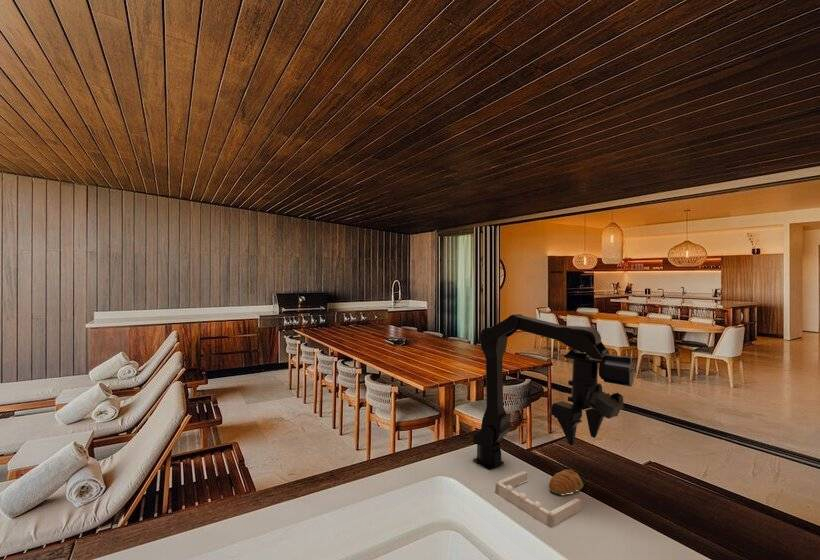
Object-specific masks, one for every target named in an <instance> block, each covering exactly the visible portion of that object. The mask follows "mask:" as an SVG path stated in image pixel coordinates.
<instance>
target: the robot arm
mask: <svg viewBox="0 0 820 560" xmlns="http://www.w3.org/2000/svg"><path fill="white" fill-rule="evenodd" d="M518 331H522V332H524V333H525V332H526V333H530V334H533V335H537V336H539V337H544V338H548V339H552V340H556V341H558V342H561V343H562V344H563V345H565V346H567V347H568V348H570V350H569V351H568V352H566V354H564V355H563V357H564V358H565V359H569V360H572V374H571V375H572V377H571V379H570V380H568V381H567V383H568V384H567V385H568V386H571V395H570V396H567V402H566V401H563V400H561V401H558V402H554V403H552V404H550V413H549V414H550V415H551V416H553V417H554V418H555V419H557V421H558V423H559V425H560V427H561V429H562V432H563V434H564V437H565V438H566V440H567V443H568V445H570V446H574V444H575V440H576V434H577V428H578V425H579V424H581V423H582V422H583V420H582V417H583V412H584V411H585V415H586V420H587V425H588V426H587V427H588V430H589V434H590V437H592V438H594V439H595V438H597V436H598V433H599V430H600V428H601V425H602V422H603V420H604V418H605V419H608V420H609V419H612V418H613V417H618V415H619V413H620V411H621V410H623V409H625V405H624V404H625V402H624V396H623V395H622V394H621V393H619V392H615V393H612V394H610V393H606V392H604V391H603V386H602V384H601V383H599V382H598V379H599V378H600V379H601V380H603V382H604V383H609V384H612V385H613V384H614V385H619V386H624V387H630V388H631V387H633V385H634V384H633V383H634V376H635V369H634V363H633V357H632V356H628V355H624V356H622V355H621V356H620V355H615V354H611V353H610V351H609V350H608V348H607V347H606V346H605V345H604V343H603V342H602V336H601V334H600V332H599V331H598V330H597V329H596V328H594V327H590V326H581V325H562V324H557V323H554V322H550V321H546V320H543V319H538V318H534V317H530V316H525V315H523V314H522V313H521V314H520V313H518V314H517V313H516V314H511V315H509V316H508V317H507V318H505V319H503V320H502V321H500V322H498V323H496V324H494V325H493V326H491V327H485V328H483V329H482V330H481V331H480V333H479V342H480V349H481V351H482V353H483V355H484V358H485V384H486V385H485V386H486V387H485V388H486V389H485V390H486V391H485V392H486V398H485V399H486V408H485V411H484V414H483V416H482V418H481V419H482V420H481V425H480V430H479V431H478V432H477V433H475V434H474V435H472V438H473V443H474V444H475V445H477V446H476V457H474V458H473V459H472V461H473V462H474V463H476V464H477V465H480V466H481V467H483V468H484V469H486V470H489V471H490V470H493V469H495V468H497V467H500V466H503V465H504V463H505V462H504V461H502V450H501V443H500V441H502V440H503V439H504V437H505V436H506V435H507V434H508V433H509V432H510V429H511V428H512V424H511V417H512V414H511V413H510V412H507V411H506V410H505V408H504V381H503V379H504V378H503V377H504V376H503V375H504V373H503V371H504V369H503V367H504V366H503V357H504V354H505V353H506V349H507V345H508V338H510V337H511V336H512V335H514V334H515V333H516V332H518ZM598 377H599V378H598ZM502 464H503V465H502Z"/></svg>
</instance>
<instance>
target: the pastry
mask: <svg viewBox="0 0 820 560" xmlns="http://www.w3.org/2000/svg"><path fill="white" fill-rule="evenodd" d="M583 487H584V483H583V482H582V479H581V477H580V475H579V474H578V473H577V472H575V471H574V470H572V469H566V468H565V469H564V470H561V471H560V472H559V471H558V472H556V473H555V474H554V475H552V477H551V478H550V480H549V483H548V488H550V489H549V491H550V490H551V491H552V493H553V492H554V493H553V494H556V493H558V494H566V493H571V492H575V491H576V490H579V491H581V490H582V489H583ZM551 491H550V492H551ZM558 494H557V495H558Z"/></svg>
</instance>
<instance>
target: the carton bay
mask: <svg viewBox="0 0 820 560" xmlns="http://www.w3.org/2000/svg"><path fill="white" fill-rule="evenodd" d="M526 480H527V481H528V472H527V471H525V470H522V471H520V472H518V473H516V474H512V475H510V476H509V477H506V478H503V479H501V480H498V481H496V482H495V491H494V492H495V493H496V494H497V495H499V496H501V498H503V499H505V500H506V501H508V502H509V503H511V504H513V505H515V506H516V507H518V508H520V509H521V510H522V511H524V512H526V513H527V514H529V515H531V516H533V517H534V518H536V519H537V520H539V521H541V522H542V523H543V524H545V525H546V526H549V527H550V528H553V527H555V526H557V525H558V524H560V523H562V522H564V521H565V520H567V519H569V518H570V517H572V516H574V515H576V514H577V513H579V512H580V511H581V499H579V498H577V497H576V498H574V499H572V500H570V501H568V502H567V503H564V504H563V505H560V506H559V507H557V508H555V509H553V510H551V511H550V510H548V509H546V508H545V507H542V506H543V505H542V504H541V502H540V501H537V500H536V501H532V500H531V499H529V498H528V497H527V494H526V493H524V492H521V493H519V492H517V491H515V490H514V488H516V487H515V486H517V485H519V484H520V483H522V482H524V481H526ZM519 486H520V485H519ZM517 487H518V486H517ZM578 511H579V512H578ZM575 513H576V514H575ZM573 514H574V515H573ZM571 515H572V516H571ZM569 516H570V517H569ZM568 517H569V518H568ZM566 518H567V519H566ZM564 519H565V520H564ZM561 521H562V522H561Z"/></svg>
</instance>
